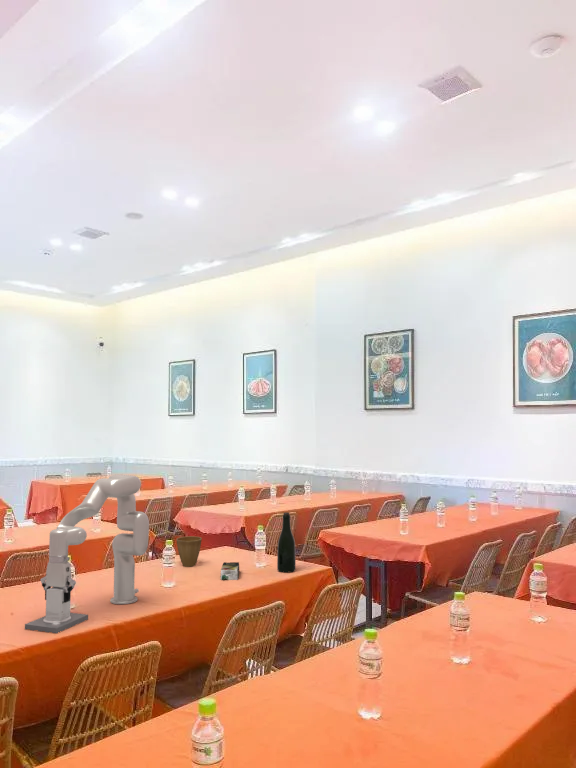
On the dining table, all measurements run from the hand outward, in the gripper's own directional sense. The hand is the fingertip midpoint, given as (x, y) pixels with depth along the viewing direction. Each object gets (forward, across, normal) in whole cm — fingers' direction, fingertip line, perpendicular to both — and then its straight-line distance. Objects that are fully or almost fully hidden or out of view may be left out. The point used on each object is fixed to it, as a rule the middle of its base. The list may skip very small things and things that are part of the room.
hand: (57, 600), depth 274 cm
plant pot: (+10, +2, -119) cm, 119 cm away
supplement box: (+8, 0, 0) cm, 8 cm away
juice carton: (+10, -32, -104) cm, 109 cm away
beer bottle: (+10, -57, -126) cm, 139 cm away
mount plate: (+10, 0, 0) cm, 10 cm away
